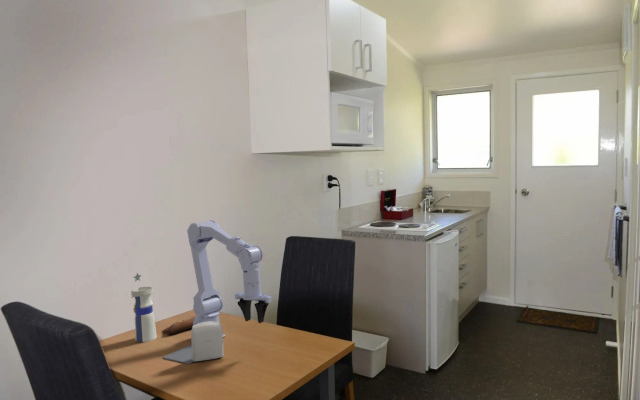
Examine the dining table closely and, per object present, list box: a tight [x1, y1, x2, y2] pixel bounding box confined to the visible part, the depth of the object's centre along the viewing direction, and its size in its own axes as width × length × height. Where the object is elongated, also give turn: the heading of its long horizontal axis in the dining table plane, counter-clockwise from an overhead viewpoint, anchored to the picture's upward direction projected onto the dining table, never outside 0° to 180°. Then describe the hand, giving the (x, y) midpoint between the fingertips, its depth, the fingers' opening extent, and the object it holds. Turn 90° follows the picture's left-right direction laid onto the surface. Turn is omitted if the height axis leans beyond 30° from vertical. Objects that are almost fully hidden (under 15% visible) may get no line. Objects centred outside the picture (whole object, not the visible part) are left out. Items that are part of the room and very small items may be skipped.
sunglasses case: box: [161, 316, 195, 337], centre depth 190 cm, size 18×7×7 cm, turn 135°
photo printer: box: [190, 321, 224, 362], centre depth 157 cm, size 10×4×12 cm, turn 110°
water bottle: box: [130, 272, 158, 343], centre depth 180 cm, size 8×8×25 cm
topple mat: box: [162, 344, 196, 365], centre depth 162 cm, size 12×12×1 cm
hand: (254, 321), depth 162 cm, fingers open, 5 cm apart
